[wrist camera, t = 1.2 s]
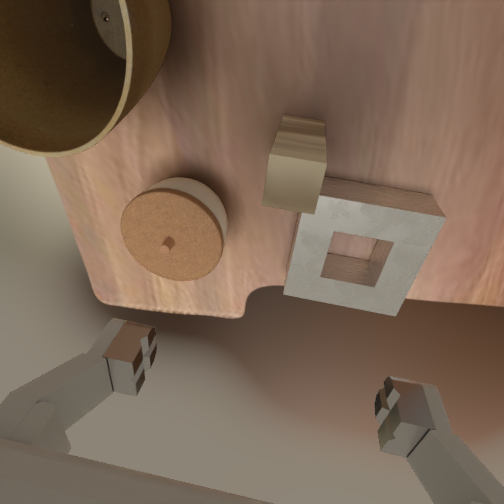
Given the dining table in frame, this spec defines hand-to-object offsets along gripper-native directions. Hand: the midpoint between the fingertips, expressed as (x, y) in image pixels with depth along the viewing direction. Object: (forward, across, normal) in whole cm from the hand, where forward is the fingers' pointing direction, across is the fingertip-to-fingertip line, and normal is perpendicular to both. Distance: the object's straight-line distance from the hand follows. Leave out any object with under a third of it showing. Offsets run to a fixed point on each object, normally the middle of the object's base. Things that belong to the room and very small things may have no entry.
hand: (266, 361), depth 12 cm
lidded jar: (+28, +11, +10) cm, 31 cm away
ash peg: (+27, 0, 0) cm, 27 cm away
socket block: (+27, -8, +10) cm, 30 cm away
